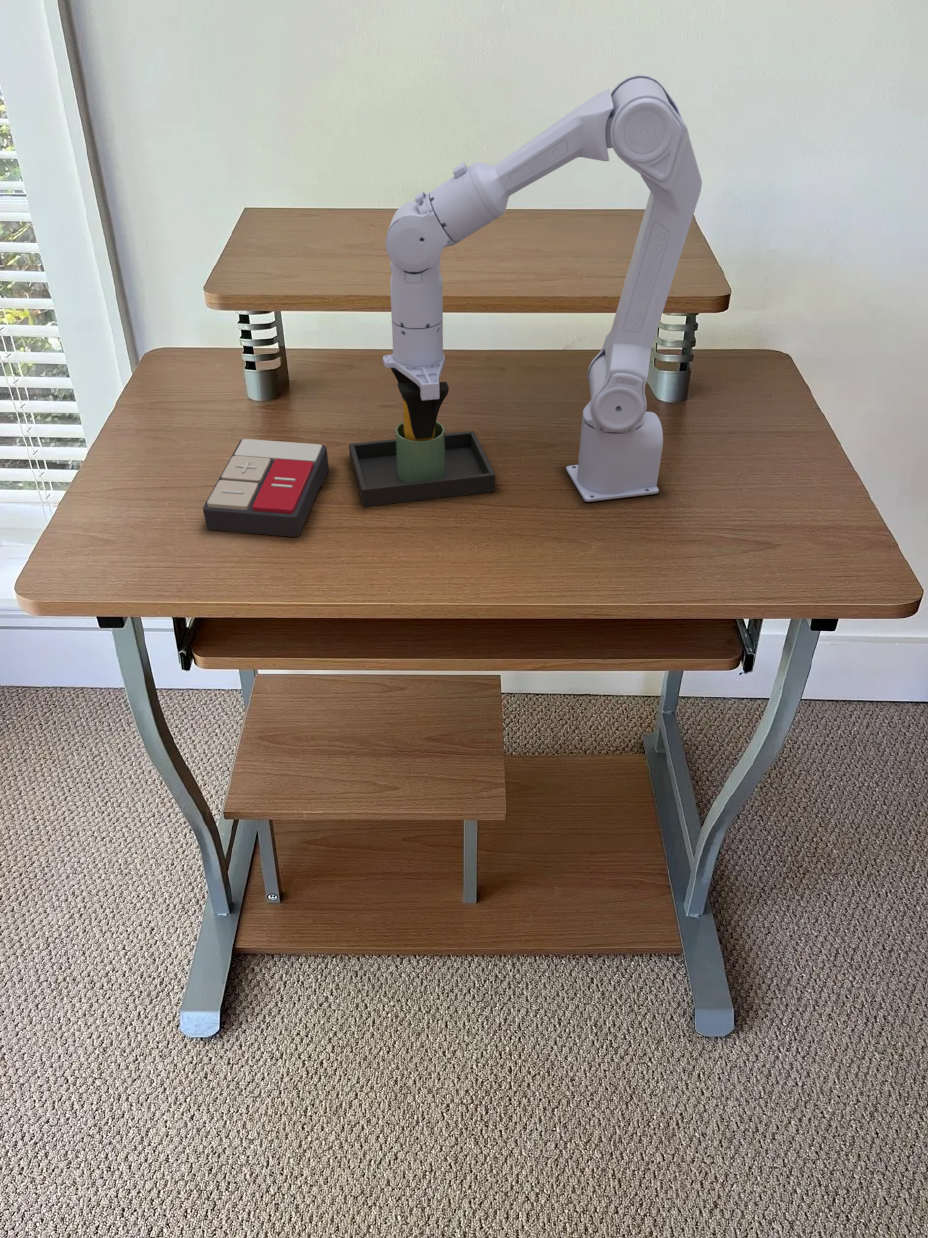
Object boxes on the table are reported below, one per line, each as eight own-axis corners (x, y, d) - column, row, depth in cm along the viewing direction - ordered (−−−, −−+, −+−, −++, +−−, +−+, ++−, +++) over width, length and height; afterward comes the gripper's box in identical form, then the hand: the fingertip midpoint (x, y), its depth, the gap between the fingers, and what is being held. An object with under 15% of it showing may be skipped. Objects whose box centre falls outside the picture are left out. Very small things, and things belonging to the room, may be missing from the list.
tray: (473, 446, 129) (474, 430, 127) (494, 491, 120) (495, 474, 119) (350, 460, 126) (348, 443, 124) (362, 507, 117) (361, 489, 116)
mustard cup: (431, 429, 121) (430, 388, 118) (437, 444, 118) (437, 402, 115) (401, 432, 121) (400, 391, 117) (407, 447, 118) (405, 405, 114)
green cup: (439, 458, 125) (439, 415, 122) (449, 482, 121) (449, 439, 117) (393, 463, 124) (391, 420, 120) (401, 487, 120) (400, 444, 116)
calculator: (200, 503, 111) (239, 433, 122) (206, 534, 114) (244, 462, 125) (295, 511, 110) (326, 439, 121) (299, 542, 113) (329, 469, 124)
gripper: (371, 297, 115) (377, 403, 123) (392, 348, 104) (397, 461, 113) (431, 292, 116) (432, 398, 125) (458, 343, 105) (457, 455, 114)
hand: (419, 428), depth 119 cm, fingers closed on mustard cup, 4 cm apart
